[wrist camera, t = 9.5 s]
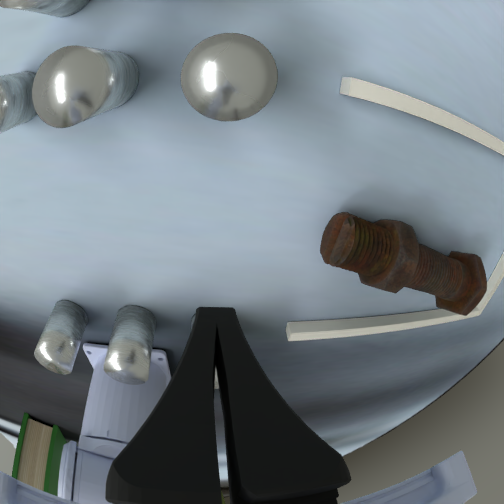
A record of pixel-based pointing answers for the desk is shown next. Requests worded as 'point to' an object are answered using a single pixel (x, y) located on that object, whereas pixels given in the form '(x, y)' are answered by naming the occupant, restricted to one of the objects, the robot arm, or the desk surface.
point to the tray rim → (415, 319)
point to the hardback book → (38, 455)
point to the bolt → (403, 261)
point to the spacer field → (107, 98)
